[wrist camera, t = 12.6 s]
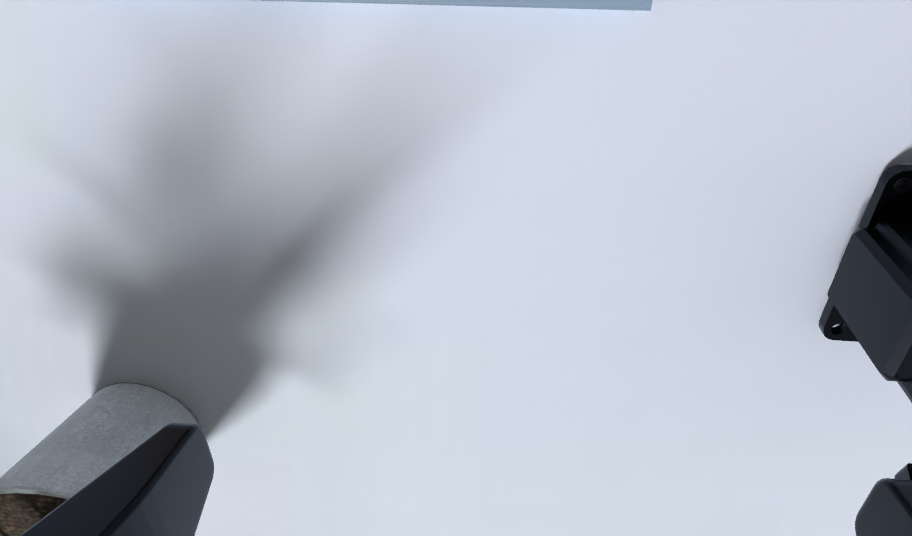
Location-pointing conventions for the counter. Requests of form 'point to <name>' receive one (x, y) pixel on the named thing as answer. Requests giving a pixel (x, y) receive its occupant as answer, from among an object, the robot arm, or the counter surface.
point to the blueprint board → (515, 3)
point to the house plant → (83, 451)
